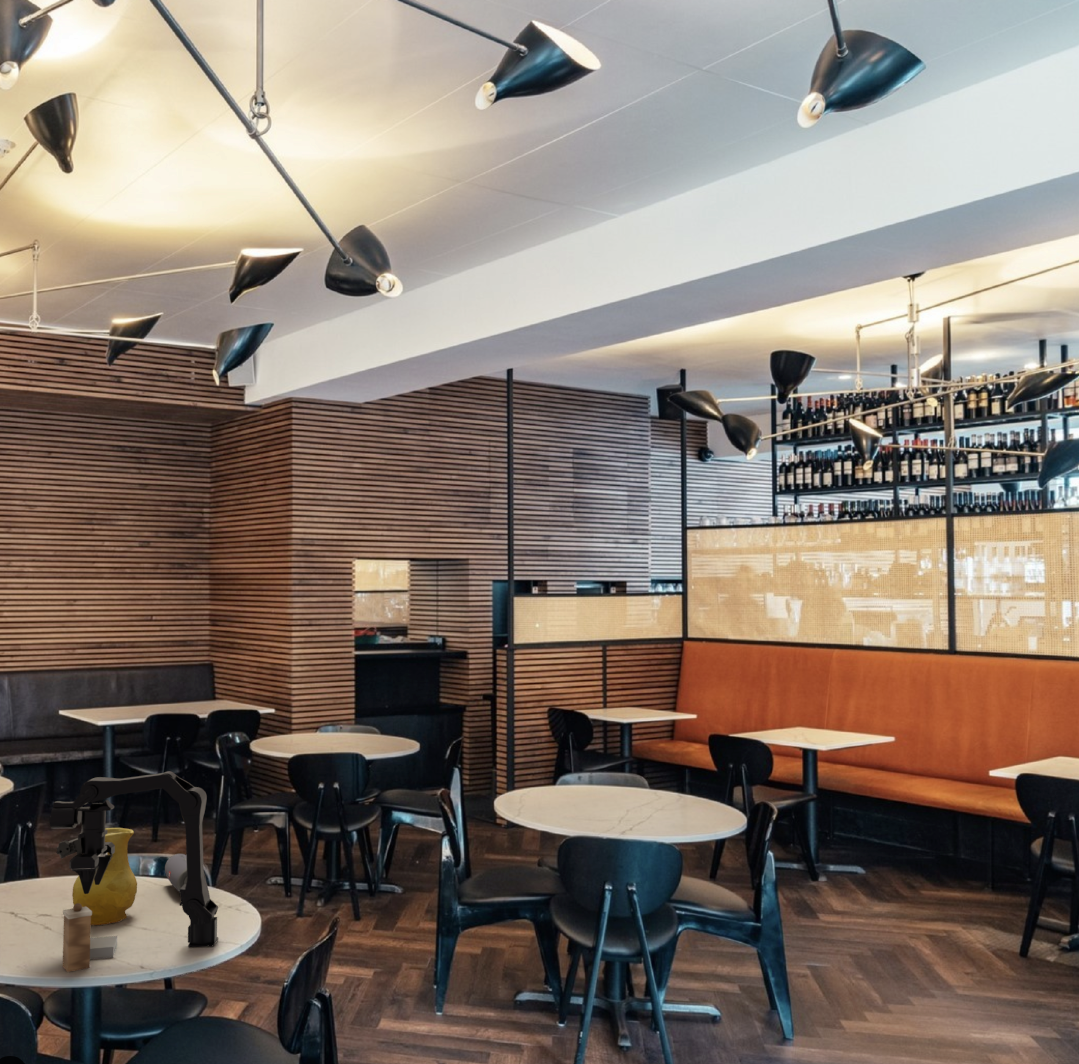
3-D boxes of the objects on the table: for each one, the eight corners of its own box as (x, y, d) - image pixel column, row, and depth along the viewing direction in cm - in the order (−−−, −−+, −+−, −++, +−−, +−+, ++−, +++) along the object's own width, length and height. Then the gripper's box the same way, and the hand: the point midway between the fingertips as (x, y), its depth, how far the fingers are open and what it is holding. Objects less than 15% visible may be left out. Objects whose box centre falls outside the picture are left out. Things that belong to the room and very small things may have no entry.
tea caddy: (84, 962, 272) (86, 899, 273) (90, 967, 267) (92, 903, 268) (61, 966, 268) (63, 902, 269) (67, 972, 264) (68, 907, 265)
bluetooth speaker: (162, 885, 346) (162, 853, 347) (192, 882, 351) (193, 850, 351) (175, 902, 326) (176, 868, 327) (207, 898, 331) (208, 864, 331)
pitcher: (55, 921, 305) (64, 830, 308) (109, 908, 322) (116, 822, 324) (98, 931, 297) (106, 838, 300) (151, 918, 314) (158, 829, 316)
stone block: (117, 947, 285) (117, 935, 285) (113, 958, 275) (113, 946, 276) (75, 950, 282) (75, 938, 282) (69, 962, 273) (70, 950, 273)
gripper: (73, 821, 294) (71, 880, 293) (48, 835, 276) (47, 899, 274) (116, 820, 295) (114, 879, 294) (94, 834, 277) (93, 898, 276)
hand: (91, 888), depth 285 cm, fingers open, 9 cm apart
